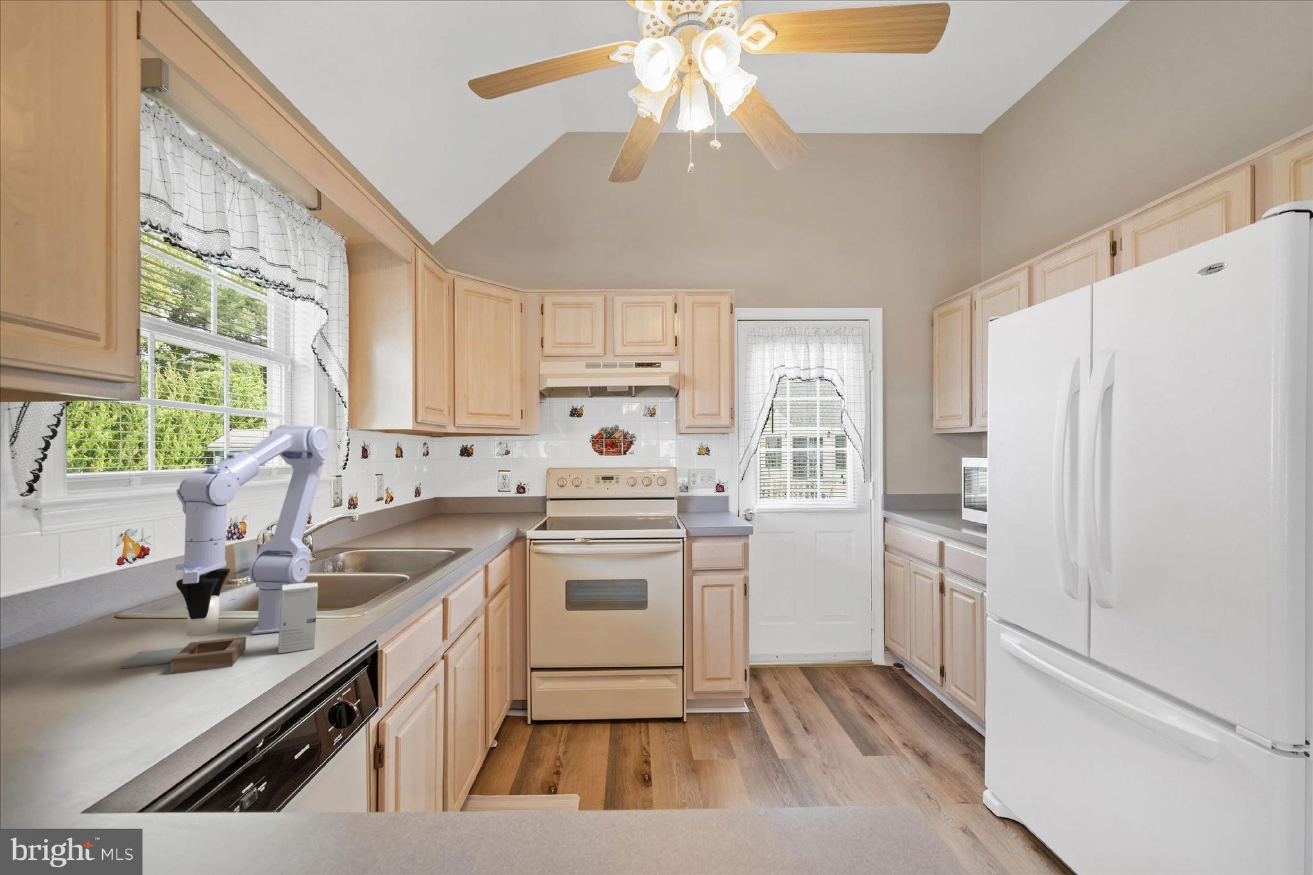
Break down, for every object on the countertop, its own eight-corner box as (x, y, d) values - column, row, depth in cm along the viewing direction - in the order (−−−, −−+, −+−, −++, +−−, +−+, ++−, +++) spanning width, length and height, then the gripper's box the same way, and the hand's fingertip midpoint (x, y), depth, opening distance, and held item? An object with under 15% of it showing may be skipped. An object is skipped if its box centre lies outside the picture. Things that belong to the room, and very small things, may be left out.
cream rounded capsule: (192, 629, 100) (193, 596, 100) (221, 626, 101) (222, 594, 102) (182, 637, 96) (183, 603, 96) (214, 634, 97) (215, 600, 98)
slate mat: (139, 654, 101) (139, 651, 101) (186, 648, 104) (187, 646, 104) (120, 668, 94) (120, 666, 94) (171, 662, 97) (171, 660, 97)
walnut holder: (190, 655, 100) (190, 642, 101) (245, 649, 104) (245, 636, 104) (171, 673, 93) (172, 658, 93) (231, 666, 96) (232, 652, 96)
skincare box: (277, 654, 102) (279, 589, 102) (278, 647, 106) (280, 584, 106) (316, 648, 105) (318, 585, 105) (315, 641, 109) (317, 580, 109)
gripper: (192, 534, 104) (190, 605, 104) (160, 547, 91) (158, 629, 90) (237, 532, 107) (235, 601, 106) (213, 545, 93) (211, 624, 93)
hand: (203, 614), depth 99 cm, fingers closed on cream rounded capsule, 4 cm apart
